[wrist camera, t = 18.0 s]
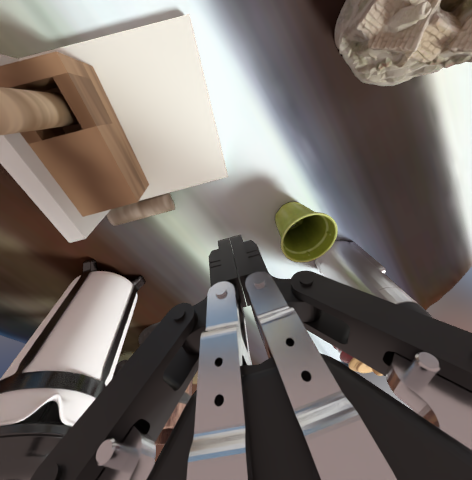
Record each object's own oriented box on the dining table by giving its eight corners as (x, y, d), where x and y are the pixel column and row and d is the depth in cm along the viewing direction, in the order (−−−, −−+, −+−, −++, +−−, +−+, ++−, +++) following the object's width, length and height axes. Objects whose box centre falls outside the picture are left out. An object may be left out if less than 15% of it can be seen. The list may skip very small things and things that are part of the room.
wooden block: (173, 199, 35) (167, 189, 32) (175, 212, 33) (168, 203, 31) (118, 214, 35) (106, 205, 32) (117, 228, 33) (106, 220, 31)
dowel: (75, 90, 22) (-22, 76, 12) (92, 120, 23) (19, 129, 13) (50, 98, 22) (-68, 90, 12) (68, 127, 23) (-21, 141, 13)
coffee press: (44, 264, 37) (-276, 587, 12) (133, 251, 38) (12, 515, 13) (89, 321, 46) (-35, 564, 22) (159, 308, 48) (117, 523, 23)
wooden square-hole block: (92, 66, 23) (56, 51, 17) (149, 184, 30) (137, 202, 25) (32, 81, 22) (-26, 72, 17) (104, 196, 30) (82, 216, 25)
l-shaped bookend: (189, 19, 23) (184, -37, 14) (227, 174, 33) (237, 197, 24) (10, 65, 23) (-108, 39, 14) (103, 207, 33) (69, 242, 24)
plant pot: (271, 242, 42) (286, 269, 35) (261, 202, 37) (276, 225, 30) (313, 227, 42) (337, 252, 35) (310, 185, 36) (337, 204, 29)
